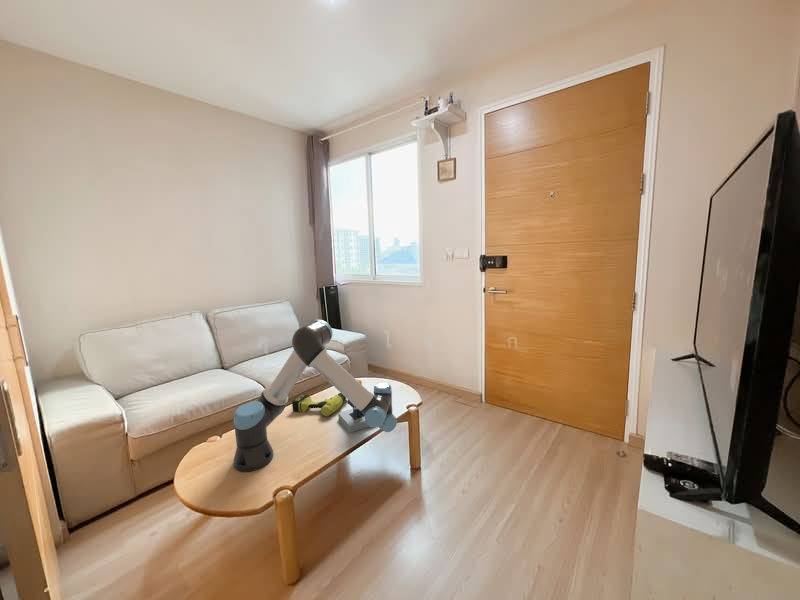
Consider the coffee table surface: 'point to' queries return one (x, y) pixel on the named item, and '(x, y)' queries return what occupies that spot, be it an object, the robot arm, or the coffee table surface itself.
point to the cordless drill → (318, 404)
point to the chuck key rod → (358, 412)
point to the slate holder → (352, 421)
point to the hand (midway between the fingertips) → (352, 391)
